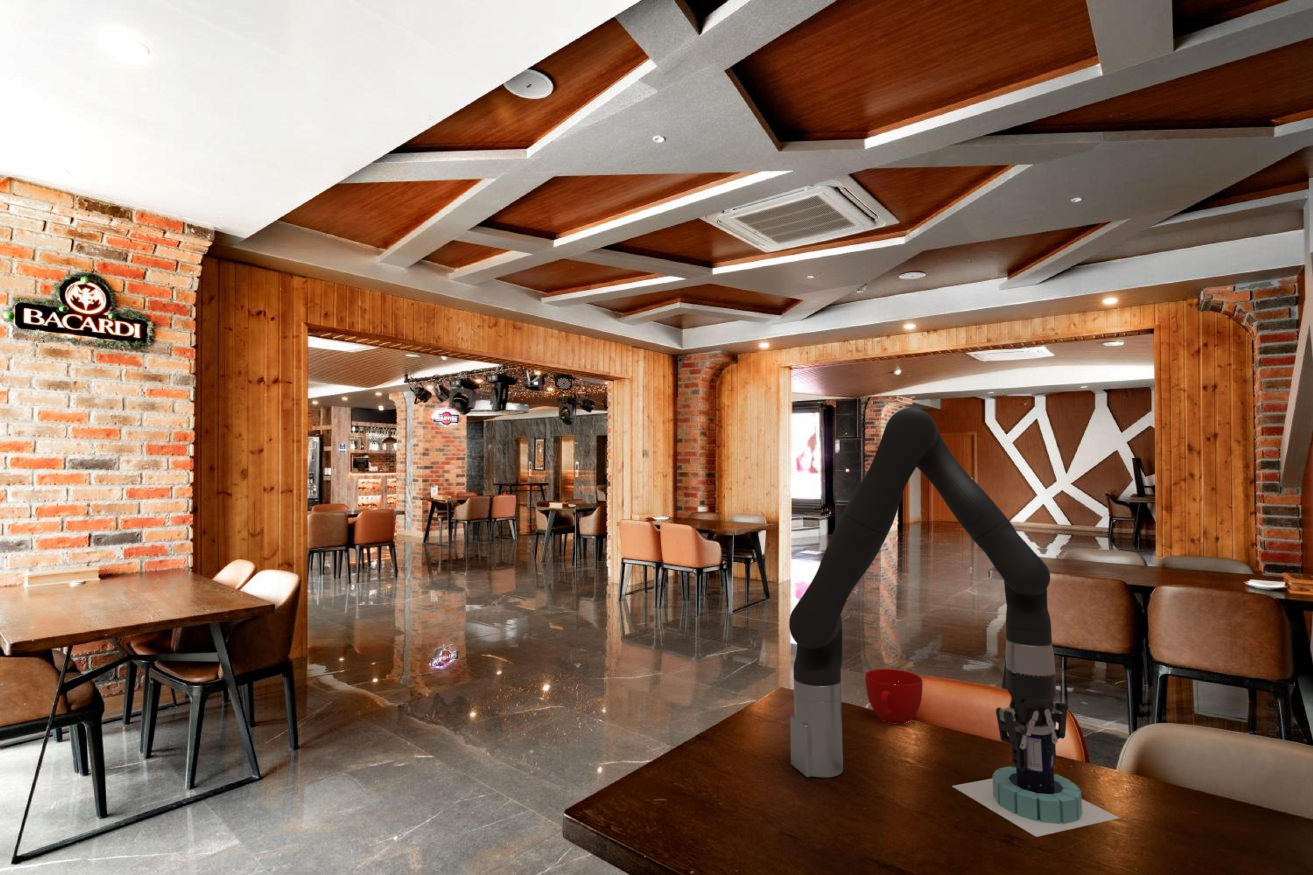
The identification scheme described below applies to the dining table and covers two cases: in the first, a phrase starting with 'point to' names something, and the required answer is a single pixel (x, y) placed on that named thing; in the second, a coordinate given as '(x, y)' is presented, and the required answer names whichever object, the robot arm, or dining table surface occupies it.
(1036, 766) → the beverage can
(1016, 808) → the ring
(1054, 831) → the mat
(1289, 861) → the dining table surface
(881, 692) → the ceramic cup
